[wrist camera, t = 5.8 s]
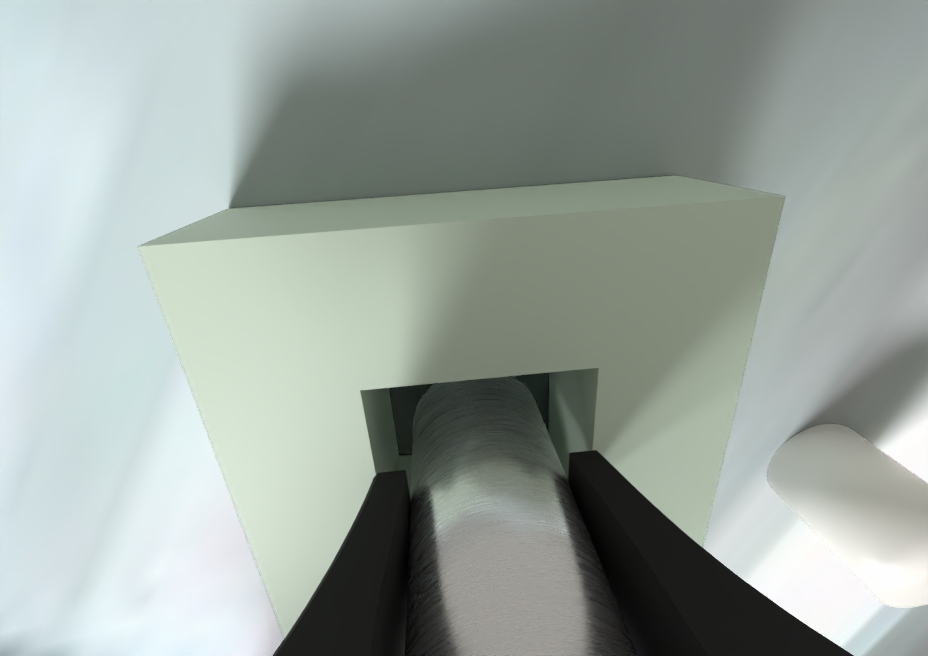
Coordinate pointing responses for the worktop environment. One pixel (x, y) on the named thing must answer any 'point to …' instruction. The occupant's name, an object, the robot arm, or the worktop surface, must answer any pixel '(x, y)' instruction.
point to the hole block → (461, 338)
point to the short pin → (859, 508)
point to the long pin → (499, 535)
